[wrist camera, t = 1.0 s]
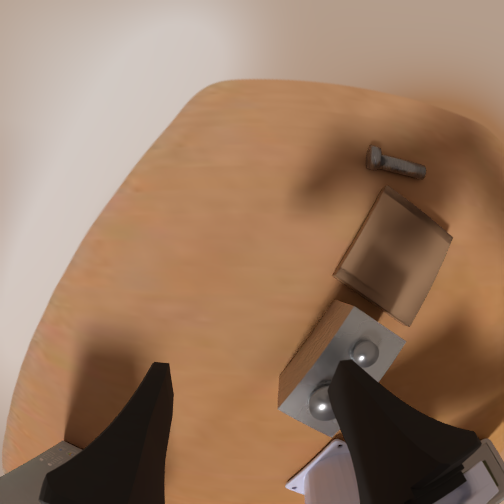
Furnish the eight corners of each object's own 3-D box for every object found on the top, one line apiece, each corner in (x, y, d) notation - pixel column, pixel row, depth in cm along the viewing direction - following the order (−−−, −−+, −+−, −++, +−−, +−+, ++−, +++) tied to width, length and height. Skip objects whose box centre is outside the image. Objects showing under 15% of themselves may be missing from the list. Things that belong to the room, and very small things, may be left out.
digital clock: (490, 431, 17) (534, 462, 6) (465, 481, 16) (497, 516, 5) (389, 460, 19) (423, 520, 8) (365, 509, 18) (383, 566, 7)
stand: (444, 239, 21) (452, 237, 19) (402, 324, 20) (409, 326, 19) (381, 190, 22) (387, 184, 20) (332, 275, 22) (335, 275, 20)
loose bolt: (418, 165, 22) (428, 155, 20) (420, 185, 21) (430, 176, 19) (365, 152, 22) (372, 140, 20) (365, 172, 22) (373, 161, 20)
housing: (374, 326, 21) (410, 343, 14) (320, 400, 21) (333, 442, 14) (334, 299, 22) (357, 307, 14) (279, 376, 21) (277, 414, 14)
